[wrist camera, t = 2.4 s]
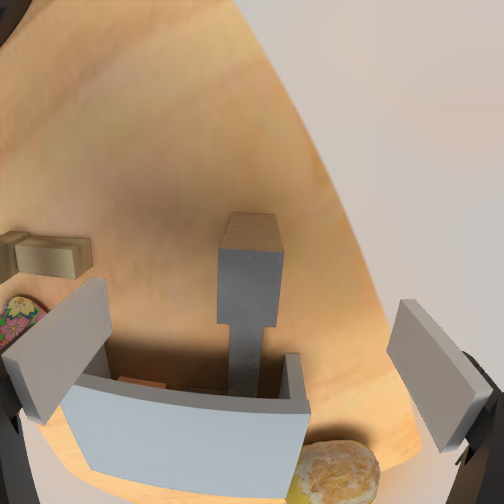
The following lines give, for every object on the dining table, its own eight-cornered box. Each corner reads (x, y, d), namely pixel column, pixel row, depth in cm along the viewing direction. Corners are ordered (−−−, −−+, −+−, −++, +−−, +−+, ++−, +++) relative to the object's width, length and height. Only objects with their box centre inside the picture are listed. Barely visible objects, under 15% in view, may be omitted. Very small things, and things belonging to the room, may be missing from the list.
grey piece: (176, 208, 23) (131, 242, 15) (274, 214, 23) (283, 252, 15) (184, 402, 29) (165, 472, 21) (256, 409, 29) (255, 481, 21)
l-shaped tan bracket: (13, 260, 25) (-32, 287, 19) (9, 231, 24) (-39, 253, 18) (92, 269, 25) (49, 305, 18) (89, 235, 24) (42, 264, 18)
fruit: (360, 463, 33) (375, 524, 23) (278, 471, 33) (280, 536, 24) (378, 413, 30) (404, 483, 20) (280, 422, 30) (285, 501, 20)
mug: (22, 360, 29) (-25, 413, 19) (-5, 289, 26) (-67, 334, 16) (101, 370, 29) (56, 443, 18) (73, 288, 26) (5, 350, 16)
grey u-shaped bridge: (90, 327, 27) (49, 377, 19) (299, 348, 27) (311, 414, 19) (114, 419, 31) (91, 469, 23) (282, 440, 31) (285, 498, 23)
